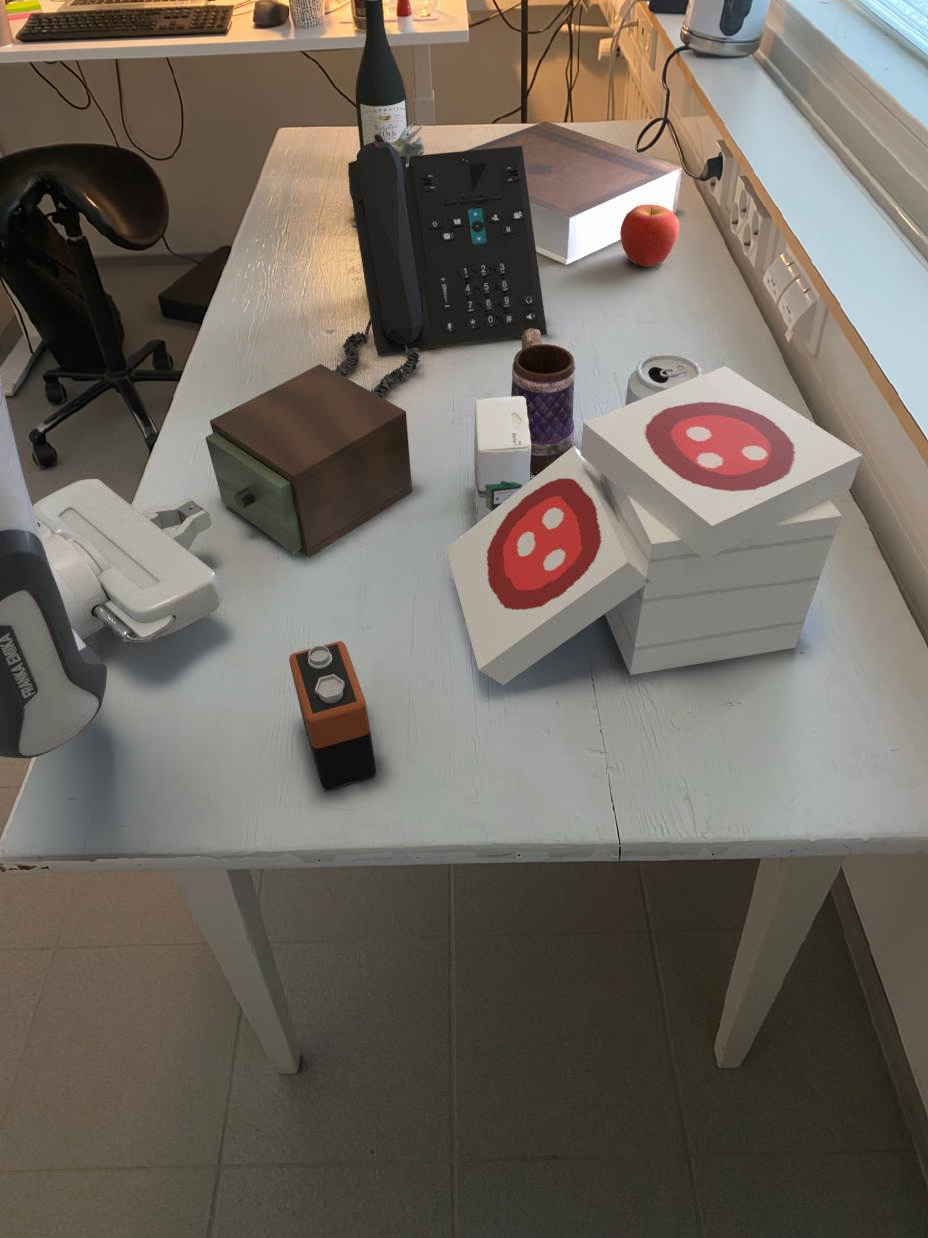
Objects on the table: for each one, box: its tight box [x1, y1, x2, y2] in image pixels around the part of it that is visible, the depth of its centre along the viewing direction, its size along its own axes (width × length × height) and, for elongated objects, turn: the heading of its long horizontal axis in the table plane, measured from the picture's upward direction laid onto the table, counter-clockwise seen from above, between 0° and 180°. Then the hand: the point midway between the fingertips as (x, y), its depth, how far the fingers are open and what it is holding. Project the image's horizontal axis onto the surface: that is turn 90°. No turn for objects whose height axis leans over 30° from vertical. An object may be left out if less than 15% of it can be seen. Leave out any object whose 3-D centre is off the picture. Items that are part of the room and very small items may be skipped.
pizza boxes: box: [445, 365, 863, 686], centre depth 77 cm, size 19×30×18 cm, turn 101°
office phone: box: [332, 141, 548, 399], centre depth 110 cm, size 29×28×20 cm
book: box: [465, 120, 683, 265], centre depth 141 cm, size 24×28×6 cm
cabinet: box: [209, 363, 413, 558], centre depth 93 cm, size 14×13×10 cm
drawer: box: [204, 432, 303, 554], centre depth 91 cm, size 14×12×8 cm
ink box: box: [473, 396, 531, 524], centre depth 89 cm, size 9×5×12 cm, turn 2°
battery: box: [288, 640, 377, 791], centre depth 70 cm, size 4×7×10 cm, turn 19°
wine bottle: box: [354, 0, 409, 169], centre depth 144 cm, size 8×8×30 cm
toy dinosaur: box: [348, 120, 425, 229], centre depth 138 cm, size 22×8×11 cm, turn 154°
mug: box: [510, 328, 576, 474], centre depth 97 cm, size 10×7×12 cm
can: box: [624, 353, 703, 406], centre depth 94 cm, size 8×8×12 cm
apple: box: [619, 204, 680, 267], centre depth 128 cm, size 8×8×8 cm
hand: (201, 511), depth 85 cm, fingers closed
